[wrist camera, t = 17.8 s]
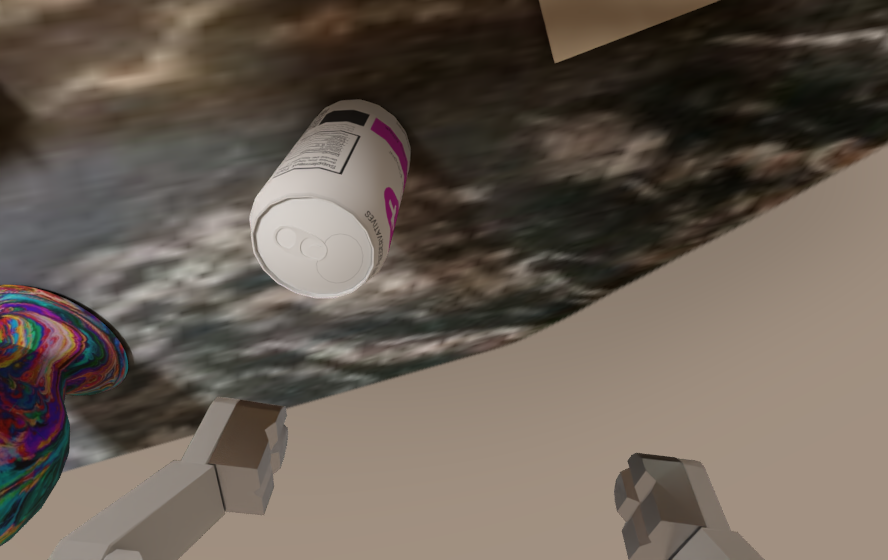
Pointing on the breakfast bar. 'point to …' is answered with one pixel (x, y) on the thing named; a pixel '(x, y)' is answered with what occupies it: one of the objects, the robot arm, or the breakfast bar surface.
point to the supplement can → (333, 201)
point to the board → (604, 21)
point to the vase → (44, 391)
